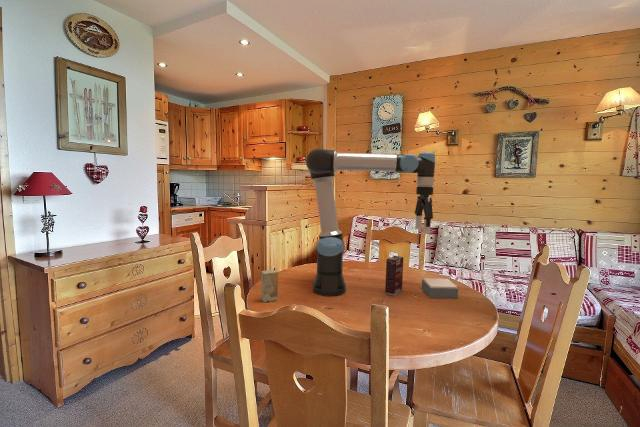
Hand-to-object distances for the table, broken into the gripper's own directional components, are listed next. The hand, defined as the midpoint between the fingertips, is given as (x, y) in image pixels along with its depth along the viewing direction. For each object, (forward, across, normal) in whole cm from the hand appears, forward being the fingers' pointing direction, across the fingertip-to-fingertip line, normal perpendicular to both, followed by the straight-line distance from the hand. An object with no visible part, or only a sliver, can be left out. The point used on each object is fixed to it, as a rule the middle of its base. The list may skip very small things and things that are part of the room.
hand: (422, 231), depth 153 cm
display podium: (+26, -11, -6) cm, 29 cm away
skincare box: (+28, -21, +68) cm, 77 cm away
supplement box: (+27, -10, +14) cm, 32 cm away
